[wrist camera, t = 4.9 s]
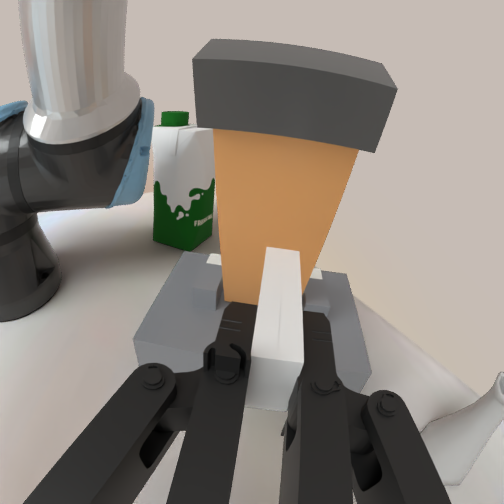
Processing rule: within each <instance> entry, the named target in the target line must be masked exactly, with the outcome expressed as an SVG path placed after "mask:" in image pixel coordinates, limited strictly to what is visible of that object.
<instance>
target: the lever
mask: <svg viewBox="0 0 504 504" xmlns="http://www.w3.org/2000/svg"><path fill="white" fill-rule="evenodd" d="M192 62H193V77H194V91H195V92H194V93H195V106H196V118H197V128H210V129H213V142H214V161H215V179H216V195H217V210H218V225H219V239H220V252H221V265H222V277H223V288H224V300H225V301H227V302H232V301H234V302H240V303H247V304H254V305H258V302H259V295H260V289H261V282H262V275H263V268H264V261H265V255H266V248H267V247H273V248H280V249H287V250H294V251H299V253H300V270H301V290H302V294H303V292H304V290H305V288H306V285H307V283H308V281H309V278H310V276H311V274H312V271H313V269H314V266H315V264H316V262H317V259H318V257H319V254H320V252H321V249H322V247H323V244H324V242H325V240H326V237H327V234H328V232H329V230H330V227H331V224H332V222H333V219H334V217H335V214H336V211H337V209H338V206H339V204H340V201H341V198H342V195H343V193H344V190H345V187H346V185H347V182H348V179H349V176H350V174H351V171H352V168H353V165H354V162H355V159H356V157H357V154H358V151H359V150H363V151H368V152H372V153H375V151H376V148H377V145H378V142H379V140H380V137H381V135H382V132H383V129H384V127H385V124H386V121H387V118H388V116H389V113H390V110H391V107H392V104H393V101H394V98H395V95H396V92H397V87H396V85H395V83H394V82H393V80H392V79H391V77H390V75H389V74H388V72H387V71H386V69H385V67H384V66H383V64H382V63H378V62H375V61H370V60H367V59H363V58H359V57H355V56H351V55H346V54H342V53H337V52H332V51H327V50H322V49H316V48H310V47H304V46H297V45H290V44H282V43H273V42H262V41H249V40H230V39H211V40H210V41H209V42H208V43H207V44H206V45H205V46H204V47H203V48H202V49H201V50H200V51H199V52H198V53H197V55H196V56H195V57H194V58H193V59H192Z"/></svg>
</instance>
